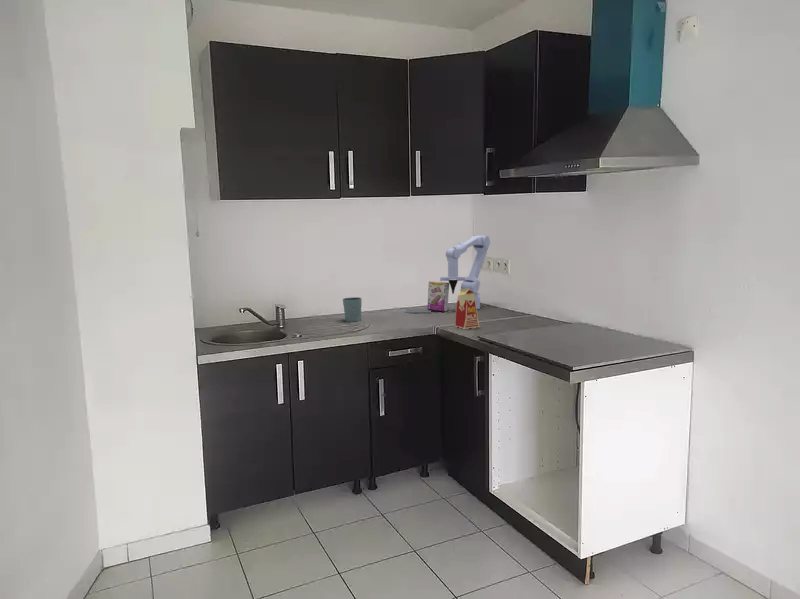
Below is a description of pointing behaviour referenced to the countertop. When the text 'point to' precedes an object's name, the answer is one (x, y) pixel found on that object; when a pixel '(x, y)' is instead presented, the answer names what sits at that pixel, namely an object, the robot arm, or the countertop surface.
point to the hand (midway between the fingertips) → (453, 293)
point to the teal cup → (352, 309)
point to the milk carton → (466, 310)
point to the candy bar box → (438, 296)
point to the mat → (418, 311)
